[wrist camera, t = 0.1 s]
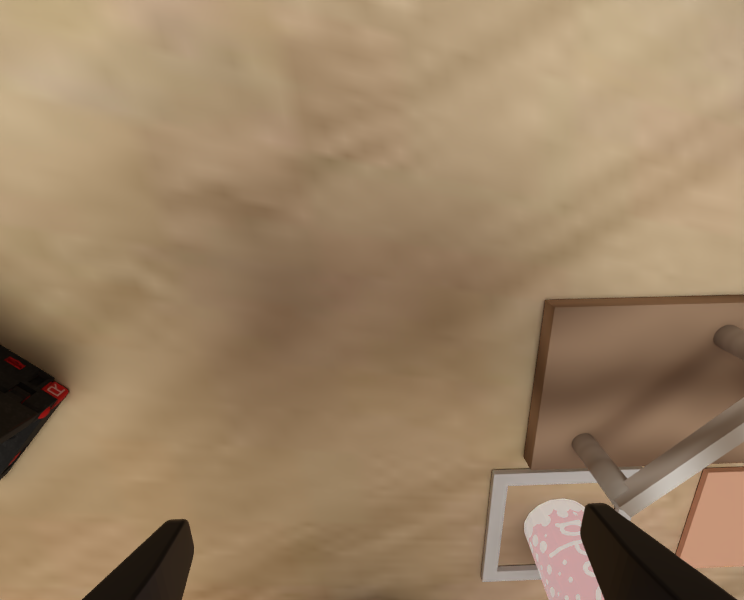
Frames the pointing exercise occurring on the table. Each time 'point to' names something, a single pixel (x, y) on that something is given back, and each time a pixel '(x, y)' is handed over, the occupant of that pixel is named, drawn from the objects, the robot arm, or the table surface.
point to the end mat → (715, 521)
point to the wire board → (638, 391)
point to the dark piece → (23, 405)
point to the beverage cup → (561, 551)
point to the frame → (497, 509)
